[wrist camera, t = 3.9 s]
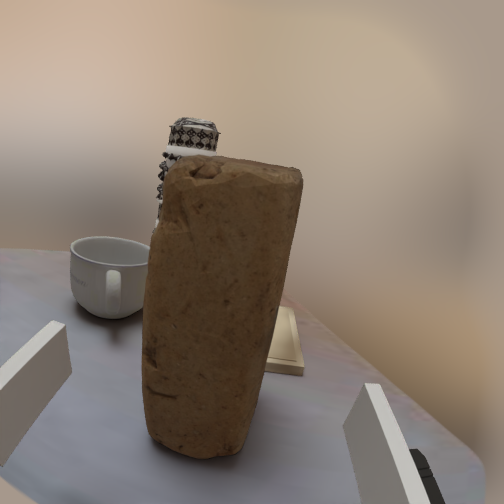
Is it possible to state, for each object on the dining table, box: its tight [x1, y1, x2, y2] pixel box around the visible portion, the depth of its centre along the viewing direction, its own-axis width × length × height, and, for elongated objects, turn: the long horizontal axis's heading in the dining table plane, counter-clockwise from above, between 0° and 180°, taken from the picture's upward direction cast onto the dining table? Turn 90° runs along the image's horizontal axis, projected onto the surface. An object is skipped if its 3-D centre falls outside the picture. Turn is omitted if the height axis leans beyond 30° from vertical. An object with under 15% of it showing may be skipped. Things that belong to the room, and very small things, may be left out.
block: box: [142, 154, 303, 459], centre depth 20 cm, size 11×8×20 cm
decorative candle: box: [153, 118, 221, 233], centre depth 48 cm, size 9×9×25 cm
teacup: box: [70, 236, 150, 319], centre depth 34 cm, size 14×11×8 cm
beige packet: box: [265, 306, 304, 376], centre depth 37 cm, size 14×14×1 cm
